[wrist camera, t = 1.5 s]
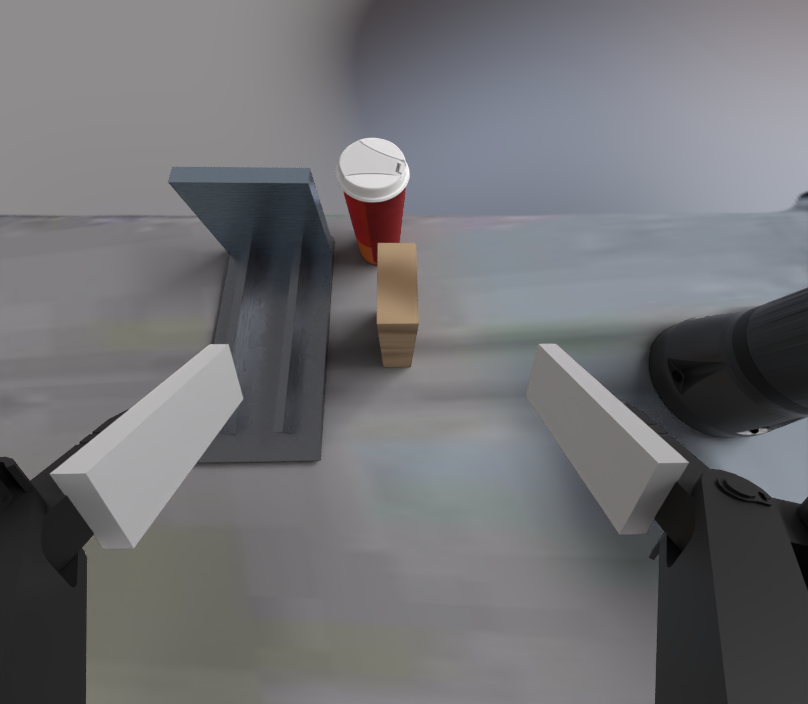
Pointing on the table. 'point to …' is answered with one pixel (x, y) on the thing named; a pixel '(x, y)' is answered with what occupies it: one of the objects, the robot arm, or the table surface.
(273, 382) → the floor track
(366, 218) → the paper cup
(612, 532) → the table surface
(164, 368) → the table surface
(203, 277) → the table surface
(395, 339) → the door panel
